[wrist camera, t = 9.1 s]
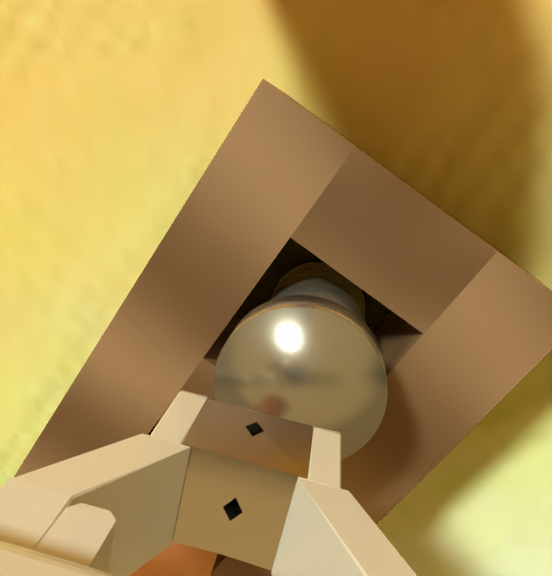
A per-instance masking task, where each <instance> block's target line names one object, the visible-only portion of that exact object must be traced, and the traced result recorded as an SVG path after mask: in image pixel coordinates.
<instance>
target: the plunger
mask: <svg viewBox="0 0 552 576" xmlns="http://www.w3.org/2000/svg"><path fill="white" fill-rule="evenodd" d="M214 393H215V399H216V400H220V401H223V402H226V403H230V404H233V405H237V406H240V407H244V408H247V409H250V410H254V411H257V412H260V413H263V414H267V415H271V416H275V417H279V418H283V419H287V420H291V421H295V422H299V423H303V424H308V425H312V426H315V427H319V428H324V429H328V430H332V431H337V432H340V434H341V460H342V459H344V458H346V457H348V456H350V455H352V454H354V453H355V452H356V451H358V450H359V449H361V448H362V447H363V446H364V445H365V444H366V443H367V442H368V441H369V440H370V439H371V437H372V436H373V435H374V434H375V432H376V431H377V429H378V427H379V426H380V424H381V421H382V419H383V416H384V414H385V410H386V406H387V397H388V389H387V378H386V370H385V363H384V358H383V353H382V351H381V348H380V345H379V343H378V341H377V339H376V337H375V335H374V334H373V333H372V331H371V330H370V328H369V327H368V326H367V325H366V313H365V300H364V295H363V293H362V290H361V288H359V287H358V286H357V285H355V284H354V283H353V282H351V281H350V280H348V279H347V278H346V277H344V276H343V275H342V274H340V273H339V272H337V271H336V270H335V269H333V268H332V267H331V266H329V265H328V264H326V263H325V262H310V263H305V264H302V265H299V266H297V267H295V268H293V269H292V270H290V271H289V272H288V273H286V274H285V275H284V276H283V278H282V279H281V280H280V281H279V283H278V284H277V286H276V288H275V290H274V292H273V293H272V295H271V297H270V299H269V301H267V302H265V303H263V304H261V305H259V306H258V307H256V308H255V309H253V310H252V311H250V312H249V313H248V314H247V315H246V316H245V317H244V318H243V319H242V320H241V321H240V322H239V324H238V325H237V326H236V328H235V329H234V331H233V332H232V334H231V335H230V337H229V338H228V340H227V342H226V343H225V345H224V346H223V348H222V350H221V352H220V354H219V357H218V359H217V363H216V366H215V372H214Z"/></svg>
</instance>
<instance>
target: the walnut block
mask: <svg viewBox="0 0 552 576" xmlns="http://www.w3.org/2000/svg"><path fill="white" fill-rule="evenodd" d="M290 237H291V238H292V239H293V240H295V241H296V242H297V243H299V244H300V245H302V246H303V247H304V248H306V249H307V250H308V251H310V252H311V253H313V254H314V255H315V256H317V257H318V258H319V259H321V260H322V261H324V262H325V263H326V264H328V265H329V266H331V267H332V268H333V269H335V270H336V271H337V272H339V273H340V274H342V275H343V276H344V277H346V278H347V279H348V280H350V281H351V282H353V283H354V284H355V285H357V286H358V287H359V288H361V289H362V290H364V291H365V292H366V293H368V294H369V295H371V296H372V297H373V298H375V299H376V300H377V301H379V302H380V303H382V304H383V305H384V306H386V307H387V308H388V309H390V310H391V311H393V312H392V313H391V314H390V315H389V316H388V318H387V319H386V320H385V321H384V322H383V323H382V325H381V326H380V327H379V328H378V329H377V331H376V332H375V333H374V335H375V337H376V339H377V341H378V343H379V345H380V348H381V351H382V353H383V358H384V363H385V370H386V378H387V389H388V397H387V406H386V410H385V414H384V416H383V419H382V421H381V424H380V426H379V427H378V429H377V431H376V432H375V434H374V435H373V436H372V437H371V439H370V440H369V441H368V442H367V443H366V444H365V445H364V446H363V447H362V448H361V449H359V450H358V451H356V452H355V453H354V454H352V455H350V456H348V457H346V458H344V459H342V460H341V489H344V490H348V491H349V492H350V493H351V494H352V495H353V496H354V498H355V499H356V500H357V501H358V503H359V504H360V505H361V506H362V508H363V509H364V510H365V511H366V513H367V514H368V515H369V516H370V518H371V519H372V520H373V521H374V523H375V524H377V523H378V522H379V521H380V520H381V519H382V518H383V517H384V516H385V515H386V514H387V513H388V512H389V511H390V510H391V509H392V508H393V507H394V506H395V505H396V504H397V503H398V502H399V501H400V500H401V499H402V498H403V497H404V496H405V495H406V494H407V493H408V492H409V491H410V490H411V489H412V488H413V487H414V486H415V485H416V484H417V483H418V482H419V481H420V480H421V479H422V478H423V477H424V476H425V475H426V474H428V473H429V472H430V471H431V470H432V469H433V468H434V467H435V466H436V465H437V464H438V463H439V462H440V461H441V460H442V459H443V458H444V457H445V456H446V455H447V454H448V453H449V452H450V451H451V450H452V449H453V448H454V447H455V446H456V445H457V444H458V443H459V442H460V441H461V440H462V439H463V438H464V437H465V436H466V435H467V434H468V433H469V432H470V431H471V430H472V429H473V428H474V427H475V426H476V425H477V424H478V423H479V422H480V421H481V420H482V419H483V418H484V417H485V416H486V415H487V414H488V413H489V412H490V411H491V410H492V409H493V408H494V407H495V406H496V405H497V404H498V403H499V402H500V401H501V400H502V399H503V398H504V397H505V396H506V395H507V394H508V393H509V392H510V391H511V390H512V389H513V388H514V387H515V386H516V385H517V384H518V383H519V382H520V381H521V380H522V379H523V378H524V377H525V376H526V375H527V374H528V373H529V372H530V371H531V370H532V369H533V368H534V367H535V366H536V365H537V364H538V363H539V362H540V361H541V360H542V359H543V358H544V357H545V356H546V355H547V354H548V353H549V352H550V351H551V350H552V291H551V290H550V289H549V288H547V287H546V286H545V285H544V284H542V283H541V282H540V281H538V280H537V279H536V278H534V277H533V276H532V275H530V274H529V273H528V272H526V271H525V270H524V269H522V268H521V267H520V266H518V265H517V264H516V263H514V262H513V261H511V260H510V259H509V258H507V257H506V256H505V255H503V254H502V253H501V252H499V251H498V250H497V249H495V248H494V247H492V246H491V245H490V244H488V243H487V242H486V241H484V240H483V239H482V238H480V237H479V236H478V235H476V234H475V233H474V232H472V231H471V230H469V229H468V228H467V227H465V226H464V225H463V224H461V223H460V222H459V221H457V220H456V219H455V218H453V217H452V216H451V215H449V214H448V213H446V212H445V211H444V210H442V209H441V208H440V207H438V206H437V205H436V204H434V203H433V202H432V201H430V200H429V199H427V198H426V197H425V196H423V195H422V194H421V193H419V192H418V191H417V190H415V189H414V188H413V187H411V186H410V185H409V184H407V183H406V182H404V181H403V180H402V179H400V178H399V177H398V176H396V175H395V174H394V173H392V172H391V171H390V170H388V169H387V168H386V167H384V166H383V165H381V164H380V163H379V162H377V161H376V160H375V159H373V158H372V157H371V156H369V155H368V154H367V153H365V152H364V151H362V150H361V149H360V148H358V147H357V146H356V145H354V144H353V143H352V142H350V141H349V140H348V139H346V138H345V137H344V136H342V135H341V134H339V133H338V132H337V131H335V130H334V129H333V128H331V127H330V126H329V125H327V124H326V123H325V122H323V121H322V120H321V119H319V118H318V117H316V116H315V115H314V114H312V113H311V112H310V111H308V110H307V109H306V108H304V107H303V106H302V105H300V104H299V103H298V102H296V101H295V100H293V99H292V98H291V97H289V96H288V95H287V94H285V93H284V92H282V91H281V90H279V89H278V88H276V87H275V86H273V85H272V84H270V83H269V82H267V81H266V80H264V79H263V80H262V81H261V83H260V84H259V86H258V88H257V89H256V91H255V92H254V94H253V96H252V97H251V99H250V100H249V102H248V104H247V105H246V107H245V108H244V110H243V112H242V113H241V115H240V116H239V118H238V120H237V121H236V123H235V124H234V126H233V128H232V129H231V131H230V132H229V134H228V136H227V137H226V139H225V140H224V142H223V144H222V145H221V147H220V148H219V150H218V152H217V153H216V155H215V156H214V158H213V160H212V161H211V163H210V164H209V166H208V168H207V169H206V171H205V172H204V174H203V176H202V177H201V179H200V180H199V182H198V184H197V185H196V187H195V188H194V190H193V192H192V193H191V195H190V196H189V198H188V200H187V201H186V203H185V204H184V206H183V208H182V209H181V211H180V212H179V214H178V216H177V217H176V219H175V220H174V222H173V224H172V225H171V227H170V228H169V230H168V232H167V233H166V235H165V236H164V238H163V240H162V241H161V243H160V244H159V246H158V248H157V249H156V251H155V252H154V254H153V256H152V257H151V259H150V260H149V262H148V264H147V265H146V267H145V268H144V270H143V272H142V273H141V275H140V276H139V278H138V280H137V281H136V283H135V284H134V286H133V288H132V289H131V291H130V292H129V294H128V296H127V297H126V299H125V300H124V302H123V304H122V305H121V307H120V308H119V310H118V312H117V313H116V315H115V316H114V318H113V320H112V321H111V323H110V324H109V326H108V328H107V329H106V331H105V332H104V334H103V336H102V337H101V339H100V340H99V342H98V344H97V345H96V347H95V348H94V350H93V352H92V353H91V355H90V356H89V358H88V360H87V361H86V363H85V364H84V366H83V368H82V369H81V371H80V372H79V374H78V376H77V377H76V379H75V380H74V382H73V384H72V385H71V387H70V388H69V390H68V392H67V393H66V395H65V396H64V398H63V400H62V401H61V403H60V404H59V406H58V408H57V409H56V411H55V412H54V414H53V416H52V417H51V419H50V420H49V422H48V424H47V425H46V427H45V428H44V430H43V432H42V433H41V435H40V436H39V438H38V440H37V441H36V443H35V444H34V446H33V448H32V449H31V451H30V452H29V454H28V456H27V457H26V459H25V460H24V462H23V464H22V465H21V467H20V468H19V470H18V472H17V473H16V475H15V476H14V477H17V476H20V475H23V474H26V473H29V472H32V471H35V470H38V469H41V468H43V467H46V466H49V465H52V464H55V463H58V462H61V461H64V460H67V459H70V458H72V457H75V456H78V455H81V454H84V453H87V452H90V451H93V450H96V449H99V448H101V447H104V446H107V445H110V444H113V443H116V442H119V441H122V440H125V439H128V438H131V437H133V436H136V435H139V434H146V435H148V434H149V432H150V431H151V429H152V428H153V427H154V425H155V424H156V423H157V421H158V420H161V418H162V417H163V415H164V414H165V412H166V411H167V409H168V408H169V406H170V405H171V403H172V402H173V400H174V399H175V397H176V396H177V394H178V393H179V392H180V391H183V390H184V391H188V392H192V393H196V394H200V395H204V396H207V397H208V398H213V399H215V393H214V372H215V366H216V363H217V359H218V357H219V354H220V352H221V350H222V348H223V346H224V345H225V343H226V342H227V340H228V338H229V337H230V335H231V334H232V332H233V331H234V329H235V328H236V326H237V325H238V324H239V322H240V321H241V320H242V319H241V318H240V317H238V316H237V315H236V314H235V313H236V312H237V310H238V309H239V307H240V306H241V305H242V303H243V302H244V301H245V299H246V298H247V296H248V295H249V294H250V292H251V291H252V289H253V288H254V287H255V285H256V284H257V283H258V281H259V280H260V278H261V277H262V276H263V274H264V273H265V271H266V270H267V269H268V267H269V266H270V265H271V263H272V262H273V260H274V259H275V258H276V256H277V255H278V253H279V252H280V251H281V249H282V248H283V246H284V245H285V244H286V242H287V241H288V240H289V238H290ZM222 553H223V552H222ZM210 576H272V574H271V570H268V569H265V568H262V567H259V566H256V565H253V564H250V563H247V562H243V561H240V560H237V559H234V558H231V557H228V556H225V555H222V554H217V557H216V560H215V563H214V566H213V569H212V572H211V575H210Z"/></svg>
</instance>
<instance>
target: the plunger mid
mask: <svg viewBox="0 0 552 576" xmlns="http://www.w3.org/2000/svg"><path fill="white" fill-rule="evenodd" d="M217 554H218V553H214V552H210V551H206V550H203V549H199V548H195V547H191V546H187V545H183V544H179V543H175V542H172V543H171V545H170V546H168V547H167V548H166V549H164V550H163V551H162V552H160V553H159V554H158V555H156V556H155V557H153V558H152V559H151V560H149V561H148V562H147V563H145V564H144V565H143V566H141V567H140V568H139V569H137V570H136V571H134V572H133V573H132V574H130V575H129V576H210V575H211V572H212V569H213V566H214V563H215V560H216V557H217Z"/></svg>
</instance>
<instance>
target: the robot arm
mask: <svg viewBox="0 0 552 576" xmlns="http://www.w3.org/2000/svg"><path fill="white" fill-rule="evenodd" d="M172 542H175V543H179V544H183V545H187V546H191V547H195V548H199V549H203V550H206V551H210V552H214V553H218V554H222V555H225V556H228V557H231V558H234V559H237V560H240V561H243V562H247V563H250V564H253V565H256V566H259V567H262V568H265V569H268V570H271V574H272V576H417V575H416V574H415V572H414V571H413V570H412V569H411V567H410V566H409V565H408V564H407V562H406V561H405V560H404V559H403V557H402V556H401V555H400V554H399V552H398V551H397V550H396V549H395V548H394V546H393V545H392V544H391V543H390V541H389V540H388V539H387V538H386V536H385V535H384V534H383V533H382V531H381V530H380V529H379V528H378V526H377V525H376V524H375V523H374V521H373V520H372V519H371V518H370V516H369V515H368V514H367V513H366V511H365V510H364V509H363V508H362V506H361V505H360V504H359V503H358V501H357V500H356V499H355V498H354V496H353V495H352V494H351V493H350V492H349V491H348V490H344V489H341V434H340V432H337V431H332V430H328V429H324V428H319V427H315V426H312V425H308V424H303V423H299V422H295V421H291V420H287V419H283V418H279V417H275V416H271V415H267V414H263V413H260V412H257V411H254V410H250V409H247V408H244V407H240V406H237V405H233V404H230V403H226V402H223V401H220V400H216V399H213V398H208V397H207V396H204V395H200V394H196V393H192V392H188V391H184V390H183V391H180V392H179V393H178V394H177V396H176V397H175V399H174V400H173V402H172V403H171V405H170V406H169V408H168V409H167V411H166V412H165V414H164V415H163V417H162V418H161V420H160V421H159V423H158V424H157V426H156V427H155V429H154V430H153V432H152V433H151V435H146V434H139V435H136V436H133V437H131V438H128V439H125V440H122V441H119V442H116V443H113V444H110V445H107V446H104V447H101V448H99V449H96V450H93V451H90V452H87V453H84V454H81V455H78V456H75V457H72V458H70V459H67V460H64V461H61V462H58V463H55V464H52V465H49V466H46V467H43V468H41V469H38V470H35V471H32V472H29V473H26V474H23V475H20V476H17V477H14V478H12V479H9V480H8V481H7V482H6V483H5V484H4V485H3V486H2V487H1V488H0V576H129V575H130V574H132V573H133V572H134V571H136V570H137V569H139V568H140V567H141V566H143V565H144V564H145V563H147V562H148V561H149V560H151V559H152V558H153V557H155V556H156V555H158V554H159V553H160V552H162V551H163V550H164V549H166V548H167V547H168V546H170V545H171V543H172ZM222 552H223V553H222Z"/></svg>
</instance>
